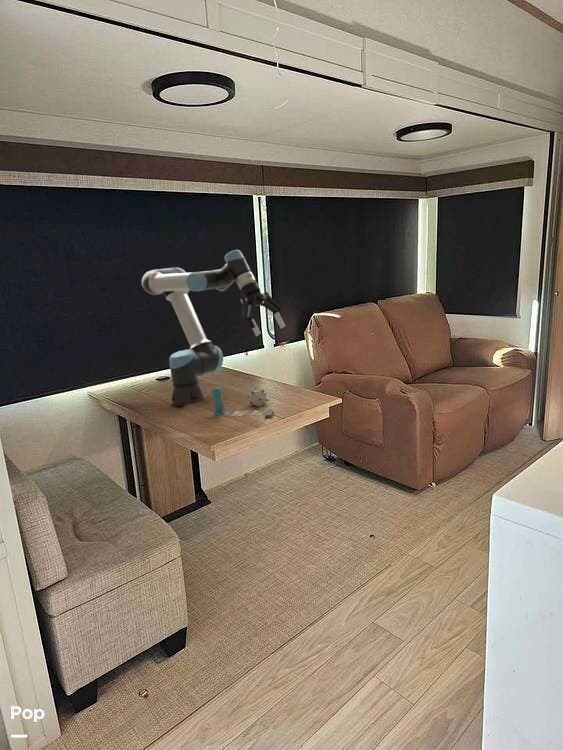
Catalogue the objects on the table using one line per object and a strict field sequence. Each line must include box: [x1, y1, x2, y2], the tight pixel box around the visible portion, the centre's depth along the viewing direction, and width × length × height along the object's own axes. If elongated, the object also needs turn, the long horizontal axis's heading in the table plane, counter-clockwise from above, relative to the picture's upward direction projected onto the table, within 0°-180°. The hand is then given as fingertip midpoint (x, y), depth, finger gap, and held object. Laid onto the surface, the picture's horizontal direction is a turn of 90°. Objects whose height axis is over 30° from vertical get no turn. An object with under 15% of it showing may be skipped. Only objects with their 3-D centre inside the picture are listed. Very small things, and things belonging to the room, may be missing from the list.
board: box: [213, 409, 275, 419], centre depth 203 cm, size 24×6×1 cm, turn 81°
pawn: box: [211, 386, 226, 417], centre depth 204 cm, size 4×4×12 cm
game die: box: [246, 387, 270, 407], centre depth 212 cm, size 9×8×10 cm
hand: (271, 331), depth 203 cm, fingers open, 13 cm apart
